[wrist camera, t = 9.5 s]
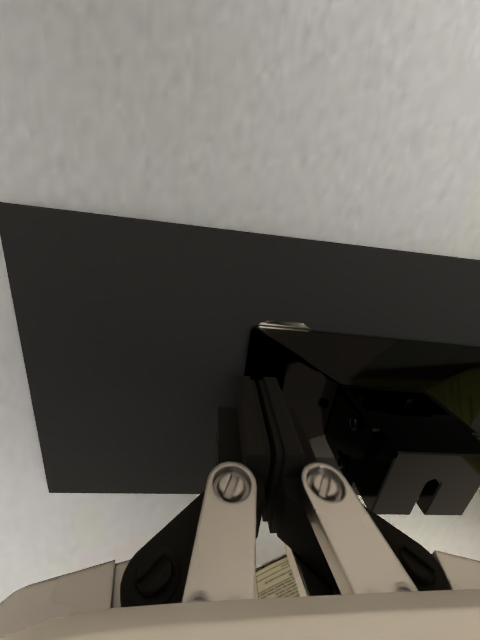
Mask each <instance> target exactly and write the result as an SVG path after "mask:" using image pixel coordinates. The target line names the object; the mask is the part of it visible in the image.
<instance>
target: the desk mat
mask: <svg viewBox="0 0 480 640" xmlns="http://www.w3.org/2000/svg"><path fill="white" fill-rule="evenodd" d="M0 235H1V241H2V246H3V251H4V257H5V262H6V267H7V272H8V278H9V283H10V288H11V294H12V299H13V304H14V309H15V315H16V320H17V325H18V331H19V336H20V341H21V347H22V352H23V357H24V362H25V368H26V373H27V378H28V384H29V389H30V394H31V399H32V405H33V410H34V415H35V421H36V426H37V431H38V436H39V442H40V447H41V452H42V458H43V463H44V468H45V474H46V479H47V484H48V489H49V493H144V494H201V493H202V492H203V491H205V489H206V484H207V479H208V477H209V474H210V472H211V471H212V470H213V468H214V467H215V437H216V421H217V410H218V407H232V408H233V404H234V395H235V385H236V377H237V376H243V371H244V365H245V358H246V352H247V345H248V339H249V332H250V328H251V327H252V326H253V325H256V324H259V323H262V322H264V321H266V320H278V321H288V322H299V323H304V324H305V325H306V326H307V327H309V328H310V329H312V330H321V331H332V332H343V333H353V334H364V335H375V336H385V337H396V338H407V339H418V340H428V341H439V342H450V343H460V344H471V345H480V260H473V259H465V258H457V257H448V256H440V255H432V254H424V253H415V252H407V251H399V250H391V249H382V248H374V247H366V246H358V245H349V244H341V243H333V242H325V241H316V240H308V239H300V238H292V237H283V236H275V235H267V234H259V233H250V232H242V231H234V230H226V229H217V228H209V227H201V226H193V225H184V224H176V223H168V222H160V221H151V220H143V219H135V218H127V217H118V216H110V215H102V214H94V213H85V212H77V211H69V210H61V209H52V208H44V207H36V206H28V205H19V204H11V203H3V202H0ZM470 427H471V428H472V429H473V430H474V431H476V432H477V433H478V434H479V438H478V440H479V441H480V410H479V412H478V414H477V415H476V417H475V419H474V421H473V423H472V425H471V426H470ZM316 459H317V462H321V463H325V464H328V465H330V466H332V467H334V468H336V469H337V470H338V471H339V472H341V469H340V468H339V467H338V465H337V462H336V459H335V458H325V457H316ZM341 473H342V472H341ZM342 475H343V474H342ZM424 486H425V485H424ZM423 488H424V487H423ZM352 489H353V490H354V492H355V493H356V495H360V493H359V491H358V489H356V488H352ZM422 490H423V489H422ZM421 492H422V491H421ZM420 494H421V493H420ZM419 496H420V495H419Z"/></svg>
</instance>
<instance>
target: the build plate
mask: <svg viewBox="0 0 480 640" xmlns="http://www.w3.org/2000/svg"><path fill="white" fill-rule="evenodd" d="M243 376H250V379H251V380H255V383H256V387H257V382H258V380H262V378H263V377H276V378H277V381H278V383H279V386H280V389H281V392H282V394H283V397H284V400H285V403H286V405H287V408H288V409H295V410H296V411H297V413H298V416H299V418H300V420H301V423H302V425H303V428H304V430H305V433H306V435H307V438H308V440H309V442H310V445H311V447H312V450H313V452H314V455H315V457H325V458H335V459H336V462H337V465H338V467H339V468H340V469H341V472H342V474H343V476H344V477H345V478H346V480H347V481H348V483H349V484H350V486H351V487H352V488H356V489H358V491H359V493H360V495H361V497H362V499H363V501H364V503H365V505H366V507H367V508H368V509H369V510H371V511H372V512H374V513H375V514H403V515H409V514H410V513H411V511H412V509H413V507H414V505H415V503H417V505H418V506H419V508H420V509H421V510H422V512H423V513H424V514H425V515H462V514H463V512H464V510H465V509H466V507H467V505H468V504H469V502H470V501H471V499H472V497H473V496H474V494H475V492H476V491H477V489H478V488H479V486H480V441H479V440H478V438H479V434H478V433H477V432H476V431H474V430H473V429H472V428H471V427H470V426H471V425H472V423H473V421H474V419H475V417H476V415H477V414H478V412H479V410H480V345H471V344H460V343H450V342H439V341H428V340H418V339H407V338H396V337H385V336H375V335H364V334H353V333H343V332H332V331H321V330H312V329H310V328H309V327H307V326H306V325H305V324H304V323H299V322H288V321H278V320H266V321H264V322H262V323H259V324H256V325H253V326H252V327H251V328H250V332H249V339H248V345H247V352H246V358H245V365H244V371H243ZM424 485H425V486H424ZM423 487H424V488H423ZM422 489H423V490H422ZM421 491H422V492H421ZM420 493H421V494H420ZM419 495H420V496H419ZM418 497H419V498H418ZM417 499H418V500H417Z"/></svg>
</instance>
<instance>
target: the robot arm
mask: <svg viewBox="0 0 480 640" xmlns="http://www.w3.org/2000/svg"><path fill="white" fill-rule="evenodd" d="M261 516H262V519H263V521H264V522H265V521H268V525H269V531H270V533H277V536H278V537H279V538H280V539H281V540H282V541H283V542H284V543H285V550H286V555H287V558H288V561H289V564H290V567H291V570H292V573H293V576H294V580H295V583H296V586H297V589H298V592H299V595H300V597H283V598H264V599H255V573H256V538H257V537H258V532H259V526H260V521H261ZM0 640H480V561H477V560H473V559H469V558H464V557H460V556H456V555H452V554H448V553H443V552H439V551H434V552H433V554H430V553H429V552H428V551H427V550H426V549H425V548H424V547H422V546H421V545H420V544H419V543H417V542H416V541H414V540H413V539H411V538H410V537H408V536H407V535H406V534H404V533H403V532H401V531H400V530H398V529H397V528H395V527H394V526H392V525H391V524H390V523H388V522H387V521H385V520H384V519H382V518H381V517H379V516H378V515H377V514H375V513H374V512H372V511H371V510H369V509H368V508H366V507H365V506H363V504H362V503H361V501H360V500H359V498H358V496H357V495H356V493H355V492H354V490H353V489H352V487H351V486H350V484H349V483H348V481H347V480H346V478H345V477H344V476H343V475H342V473H341V472H339V471H338V470H337V469H336V468H334V467H332V466H330V465H328V464H325V463H321V462H317V459H316V457H315V455H314V452H313V450H312V447H311V445H310V442H309V440H308V438H307V435H306V433H305V430H304V428H303V425H302V423H301V420H300V418H299V416H298V413H297V411H296V410H295V409H288V408H287V405H286V403H285V400H284V397H283V394H282V392H281V389H280V386H279V383H278V381H277V378H276V377H263V378H262V380H258V382H257V387H256V383H255V380H251V379H250V376H237V377H236V385H235V395H234V404H233V408H232V407H218V410H217V421H216V437H215V467H214V468H213V470H212V471H211V472H210V474H209V477H208V479H207V484H206V489H205V491H203V492H202V493H201V494H200V495H199V496H198V497H197V498H196V499H195V500H194V501H193V502H191V503H190V504H189V505H188V506H187V507H186V508H185V509H184V510H183V511H182V512H180V513H179V514H178V515H177V516H176V517H175V518H174V519H173V520H172V521H171V522H170V523H168V524H167V525H166V526H165V527H164V528H163V529H162V530H161V531H160V532H159V533H157V534H156V535H155V536H154V537H153V538H152V539H151V540H150V541H149V542H148V543H147V544H145V545H144V546H143V547H142V548H141V549H140V550H139V551H138V552H137V553H136V554H135V555H134V556H133V558H132V559H131V560H128V561H124V562H121V563H118V564H115V560H113V561H110V562H106V563H103V564H99V565H96V566H93V567H89V568H86V569H82V570H79V571H75V572H72V573H69V574H65V575H62V576H58V577H55V578H51V579H48V580H45V581H41V582H38V583H34V584H31V585H28V586H26V587H24V588H21V589H19V590H17V591H15V592H14V593H12V594H11V595H10V596H9V597H7V598H6V599H5V600H4V601H2V602H1V603H0Z"/></svg>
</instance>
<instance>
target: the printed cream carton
mask: <svg viewBox="0 0 480 640" xmlns="http://www.w3.org/2000/svg"><path fill="white" fill-rule="evenodd" d="M283 597H300V595H299V592H298V589H297V586H296V583H295V580H294V576H293V573H292V570H291V567H290V564H289V561H288V558H287V557H285V558H283V559H281V560H279V561H277V562H275V563H272V564H270V565H269V566H267V567H265V568H263V569H261V570H260V571H258V572H256V573H255V599H264V598H283Z"/></svg>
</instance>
